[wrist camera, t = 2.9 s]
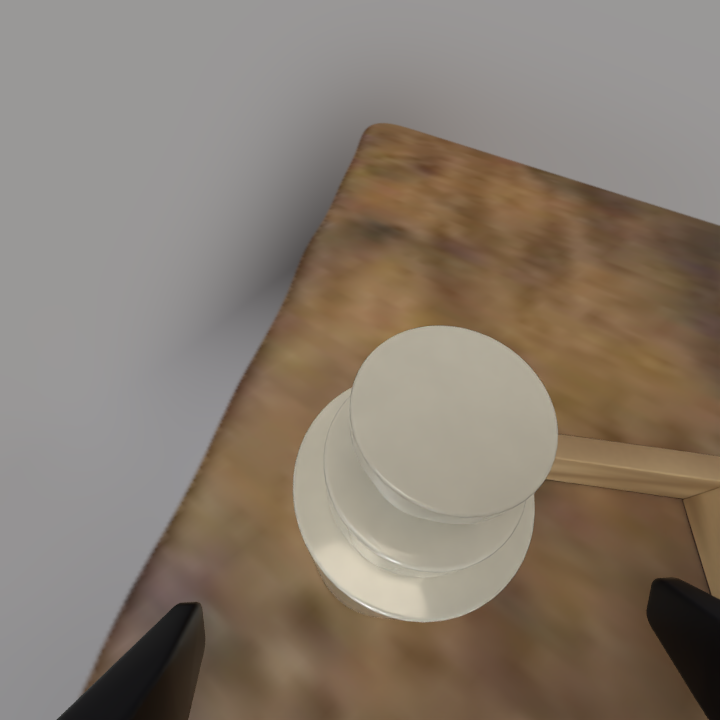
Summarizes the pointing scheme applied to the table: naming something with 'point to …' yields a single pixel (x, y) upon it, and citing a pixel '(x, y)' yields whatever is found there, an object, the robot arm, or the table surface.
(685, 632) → the robot arm
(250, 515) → the table surface
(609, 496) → the table surface
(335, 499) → the lidded jar
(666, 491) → the corner rails
